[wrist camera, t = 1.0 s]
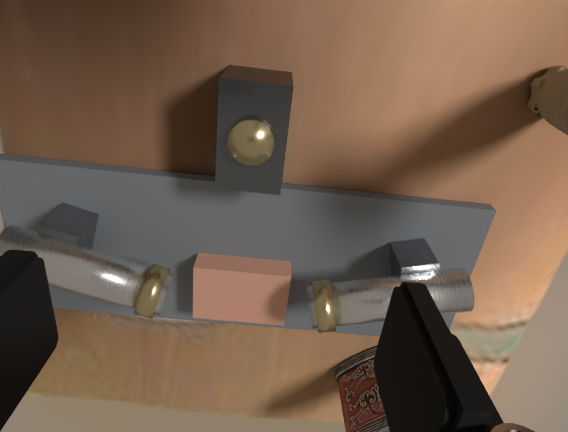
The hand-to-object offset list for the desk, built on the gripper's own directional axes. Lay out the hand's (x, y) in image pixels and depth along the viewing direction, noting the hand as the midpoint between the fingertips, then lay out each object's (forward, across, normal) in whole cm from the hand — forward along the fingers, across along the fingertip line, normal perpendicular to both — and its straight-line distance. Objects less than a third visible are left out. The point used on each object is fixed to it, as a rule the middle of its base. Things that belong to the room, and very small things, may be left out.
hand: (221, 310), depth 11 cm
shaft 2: (+19, -10, +10) cm, 24 cm away
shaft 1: (+19, +10, +10) cm, 24 cm away
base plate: (+19, 0, +10) cm, 22 cm away
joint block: (+19, 0, -1) cm, 19 cm away
